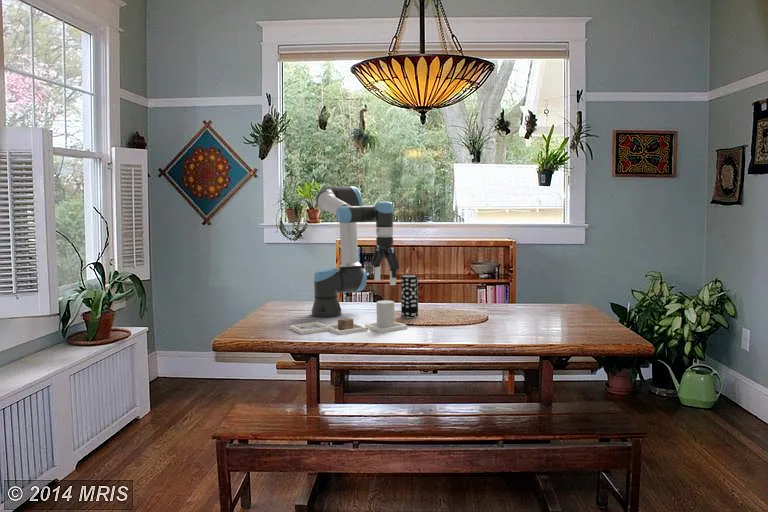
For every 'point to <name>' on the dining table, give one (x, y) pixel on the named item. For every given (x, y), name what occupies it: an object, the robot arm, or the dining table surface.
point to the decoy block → (345, 324)
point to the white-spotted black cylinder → (409, 295)
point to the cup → (385, 314)
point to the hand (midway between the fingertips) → (385, 283)
